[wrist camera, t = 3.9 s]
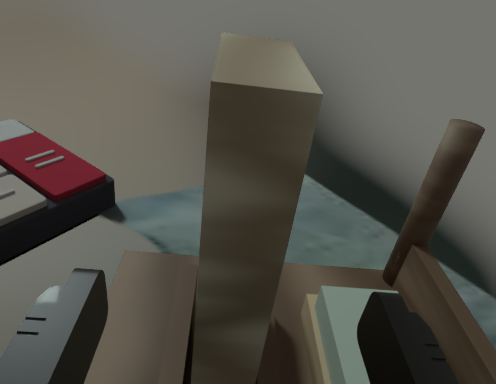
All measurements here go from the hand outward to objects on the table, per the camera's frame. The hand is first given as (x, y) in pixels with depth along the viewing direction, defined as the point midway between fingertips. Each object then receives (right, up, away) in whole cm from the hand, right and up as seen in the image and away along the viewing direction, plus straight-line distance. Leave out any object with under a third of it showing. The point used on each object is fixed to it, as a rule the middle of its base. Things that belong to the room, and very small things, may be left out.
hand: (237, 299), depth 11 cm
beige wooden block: (-1, -6, +8) cm, 10 cm away
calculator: (-21, +2, +21) cm, 30 cm away
